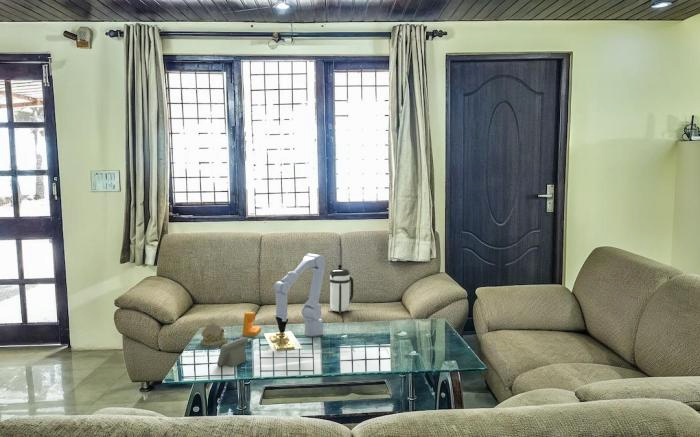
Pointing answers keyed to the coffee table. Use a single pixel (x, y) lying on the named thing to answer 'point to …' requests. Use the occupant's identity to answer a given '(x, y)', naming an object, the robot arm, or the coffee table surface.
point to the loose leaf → (273, 337)
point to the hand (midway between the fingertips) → (281, 331)
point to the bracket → (250, 325)
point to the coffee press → (340, 289)
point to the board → (291, 339)
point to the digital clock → (233, 353)
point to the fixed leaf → (283, 343)
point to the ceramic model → (213, 336)
